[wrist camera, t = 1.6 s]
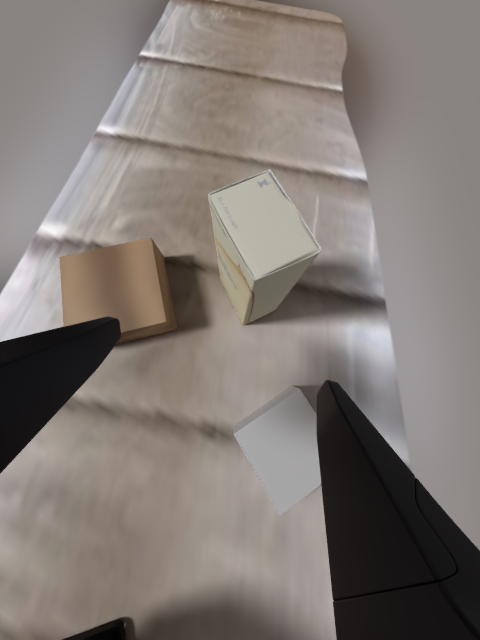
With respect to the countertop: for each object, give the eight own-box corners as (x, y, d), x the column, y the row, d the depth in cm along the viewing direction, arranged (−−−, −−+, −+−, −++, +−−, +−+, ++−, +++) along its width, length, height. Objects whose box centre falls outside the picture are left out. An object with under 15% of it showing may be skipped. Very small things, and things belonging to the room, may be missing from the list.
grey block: (273, 493, 19) (280, 516, 16) (234, 424, 20) (233, 434, 17) (332, 448, 20) (348, 462, 17) (291, 385, 21) (299, 388, 18)
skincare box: (219, 280, 23) (201, 190, 12) (253, 264, 24) (269, 164, 12) (244, 328, 22) (251, 282, 10) (279, 310, 23) (325, 248, 11)
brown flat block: (95, 350, 22) (64, 346, 18) (88, 275, 24) (59, 257, 20) (178, 329, 22) (166, 321, 18) (165, 258, 24) (151, 237, 20)
